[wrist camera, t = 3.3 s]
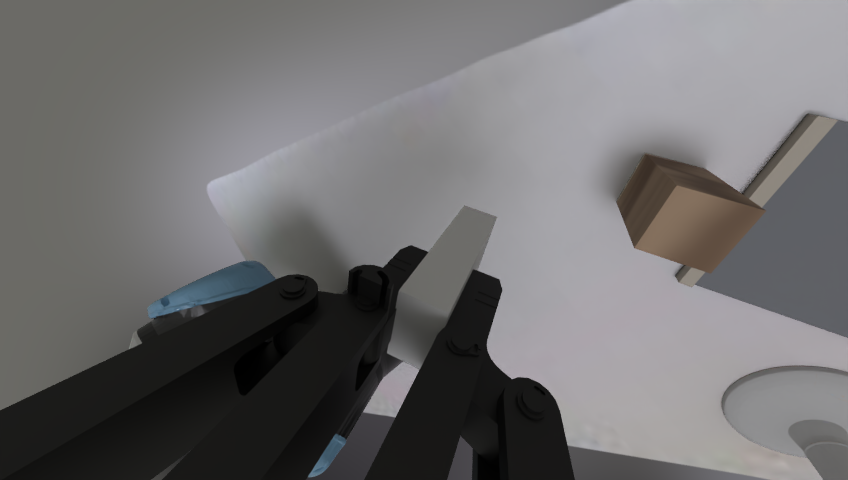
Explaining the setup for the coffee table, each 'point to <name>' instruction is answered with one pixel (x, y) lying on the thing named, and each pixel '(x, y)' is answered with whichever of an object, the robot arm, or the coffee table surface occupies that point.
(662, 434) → the coffee table surface
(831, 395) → the candlestick
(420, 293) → the robot arm
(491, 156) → the coffee table surface
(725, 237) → the block
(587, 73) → the coffee table surface
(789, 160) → the grey flat square piece
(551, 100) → the coffee table surface
